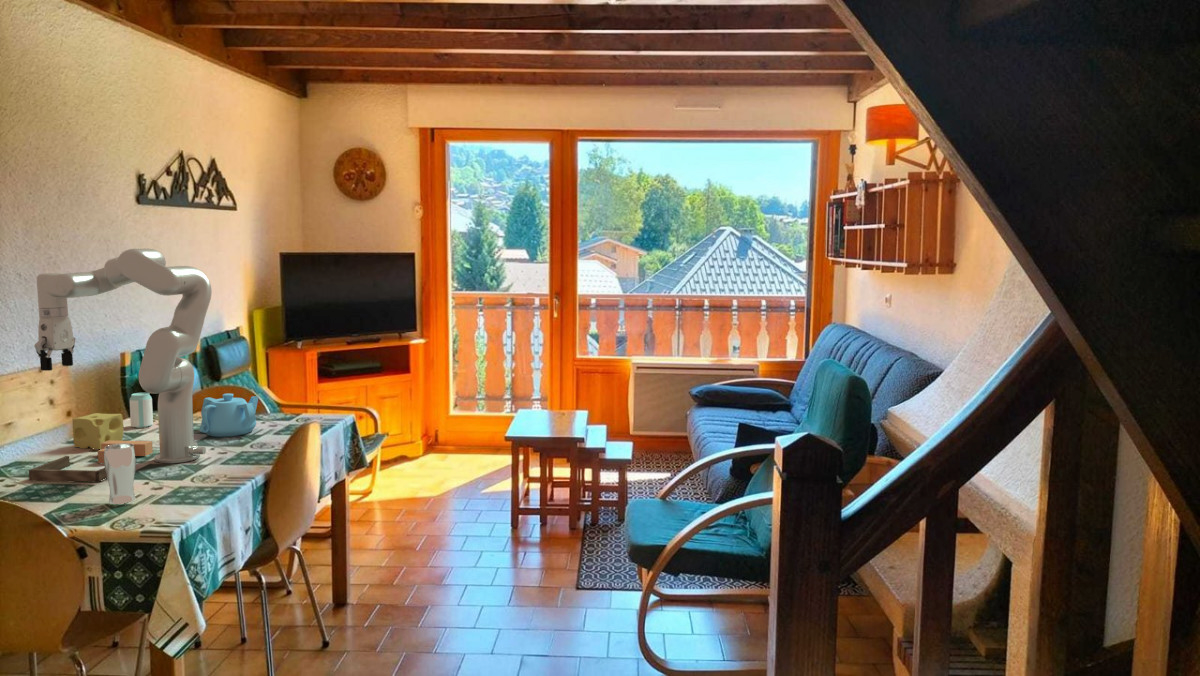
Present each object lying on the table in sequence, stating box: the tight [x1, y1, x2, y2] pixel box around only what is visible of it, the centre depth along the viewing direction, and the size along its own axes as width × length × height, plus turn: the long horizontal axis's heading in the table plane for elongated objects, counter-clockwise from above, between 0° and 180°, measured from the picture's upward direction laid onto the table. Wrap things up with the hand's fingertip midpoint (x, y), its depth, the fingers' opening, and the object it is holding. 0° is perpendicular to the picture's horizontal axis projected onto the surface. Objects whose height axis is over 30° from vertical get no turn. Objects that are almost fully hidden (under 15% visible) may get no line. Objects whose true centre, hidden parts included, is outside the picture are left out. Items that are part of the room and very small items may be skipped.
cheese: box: [72, 412, 124, 450], centre depth 270 cm, size 10×11×10 cm
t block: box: [97, 440, 154, 464], centre depth 255 cm, size 14×13×4 cm
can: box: [129, 392, 154, 429], centre depth 298 cm, size 7×7×12 cm
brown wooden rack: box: [28, 455, 107, 482], centre depth 238 cm, size 20×16×3 cm
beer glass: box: [103, 443, 137, 505], centre depth 212 cm, size 7×7×15 cm
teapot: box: [199, 393, 259, 438], centre depth 291 cm, size 19×19×14 cm
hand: (57, 367), depth 256 cm, fingers open, 9 cm apart
